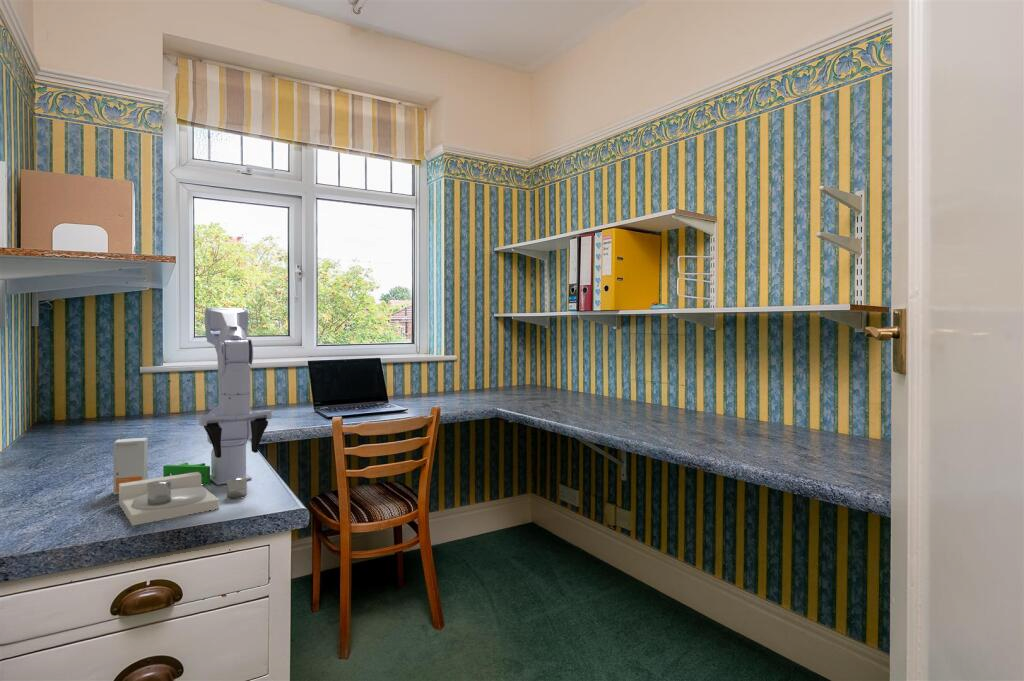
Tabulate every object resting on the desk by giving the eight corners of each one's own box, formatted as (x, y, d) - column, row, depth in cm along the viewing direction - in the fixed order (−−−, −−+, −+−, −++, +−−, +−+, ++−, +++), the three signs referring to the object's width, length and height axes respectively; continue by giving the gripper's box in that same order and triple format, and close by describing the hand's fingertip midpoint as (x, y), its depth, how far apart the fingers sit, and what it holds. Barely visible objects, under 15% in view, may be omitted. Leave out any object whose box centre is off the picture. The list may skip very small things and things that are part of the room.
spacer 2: (224, 496, 125) (224, 478, 125) (243, 492, 128) (243, 475, 127) (229, 500, 122) (229, 482, 122) (249, 496, 125) (249, 479, 125)
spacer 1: (145, 502, 112) (145, 482, 112) (168, 498, 114) (168, 478, 114) (149, 507, 109) (149, 486, 109) (173, 502, 112) (172, 482, 111)
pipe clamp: (216, 481, 138) (216, 463, 137) (207, 486, 134) (207, 467, 134) (173, 480, 138) (173, 461, 138) (163, 484, 135) (163, 465, 135)
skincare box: (112, 495, 125) (112, 442, 125) (117, 490, 129) (117, 438, 129) (144, 492, 127) (144, 440, 127) (148, 487, 131) (148, 437, 131)
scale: (119, 504, 118) (118, 483, 118) (198, 491, 128) (197, 471, 128) (132, 525, 106) (132, 502, 106) (218, 509, 116) (218, 487, 116)
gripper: (205, 397, 116) (205, 462, 117) (276, 392, 126) (276, 452, 126) (196, 394, 122) (196, 456, 122) (265, 390, 131) (265, 447, 132)
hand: (236, 454), depth 125 cm, fingers open, 7 cm apart
